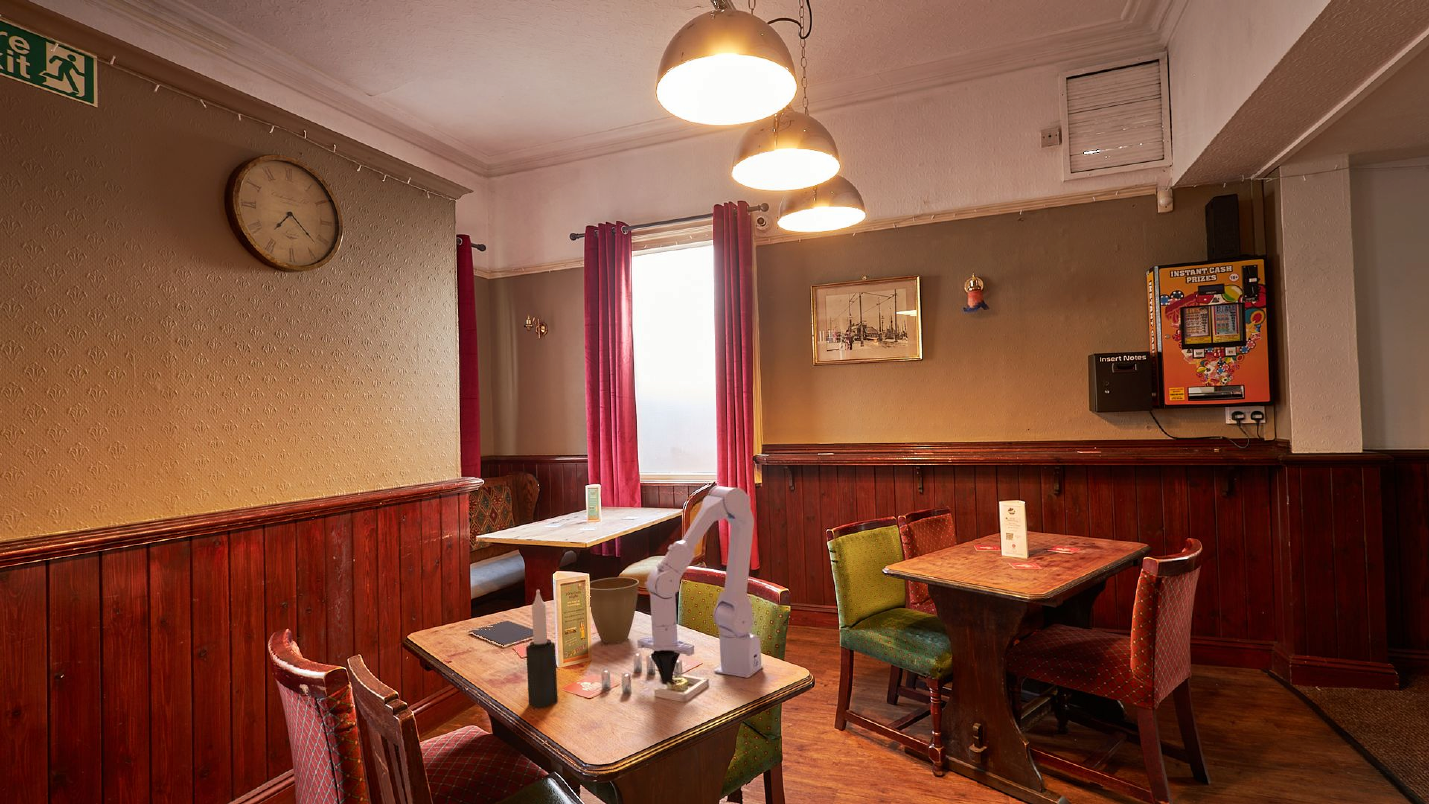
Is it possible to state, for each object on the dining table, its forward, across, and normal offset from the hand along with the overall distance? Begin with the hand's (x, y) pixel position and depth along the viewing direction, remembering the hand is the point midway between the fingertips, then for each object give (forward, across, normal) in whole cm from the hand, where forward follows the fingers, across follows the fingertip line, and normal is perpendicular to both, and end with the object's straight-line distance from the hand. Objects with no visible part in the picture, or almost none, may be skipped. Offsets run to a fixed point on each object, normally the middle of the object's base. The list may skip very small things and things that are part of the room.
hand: (667, 682), depth 158 cm
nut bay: (+1, +4, 0) cm, 4 cm away
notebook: (+2, -68, +14) cm, 70 cm away
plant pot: (+1, -34, +23) cm, 41 cm away
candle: (+1, -21, -18) cm, 28 cm away
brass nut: (+1, +3, 0) cm, 3 cm away
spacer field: (+1, -7, 0) cm, 7 cm away
